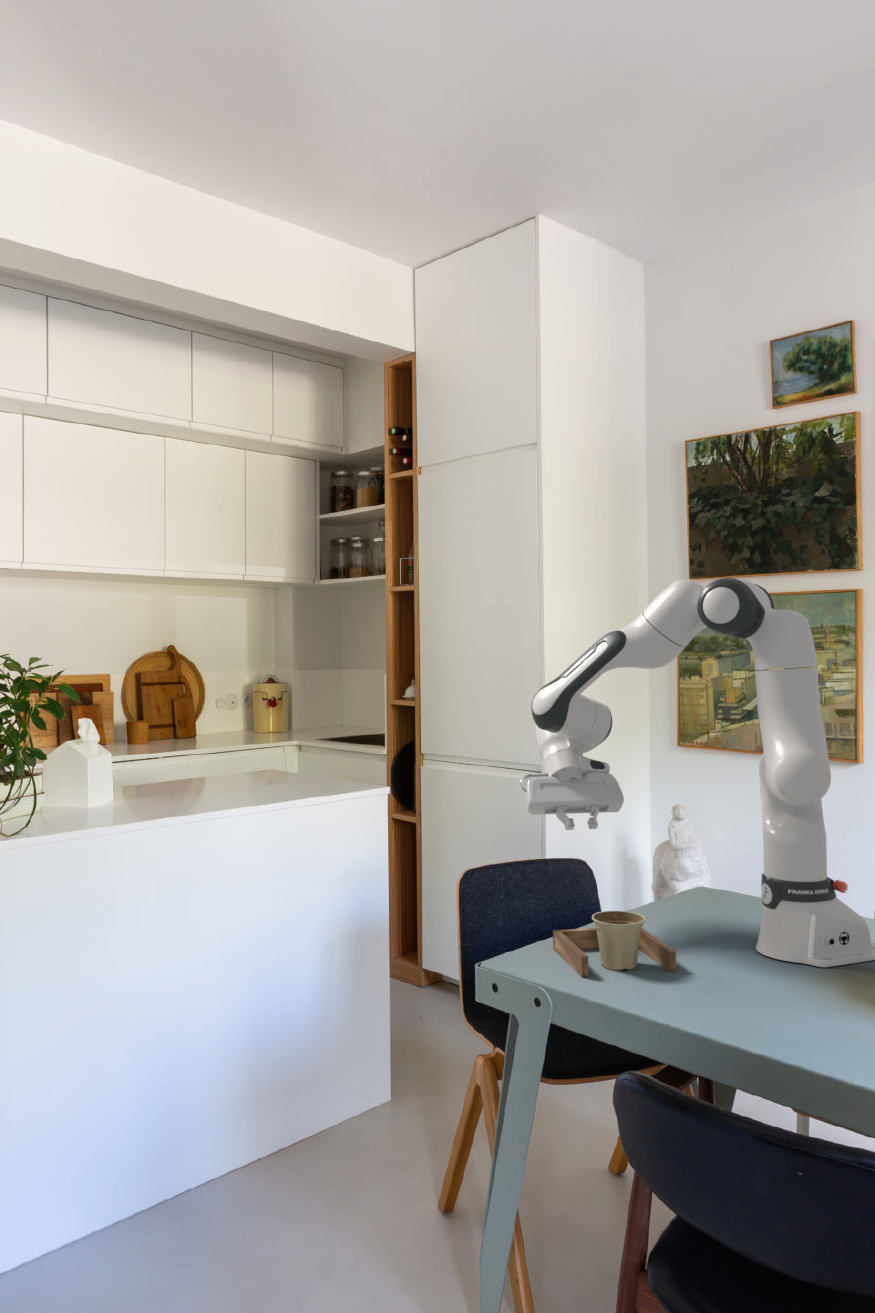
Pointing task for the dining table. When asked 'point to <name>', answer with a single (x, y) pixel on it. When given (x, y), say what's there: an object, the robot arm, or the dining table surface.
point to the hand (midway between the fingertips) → (582, 827)
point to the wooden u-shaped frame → (577, 939)
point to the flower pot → (618, 938)
